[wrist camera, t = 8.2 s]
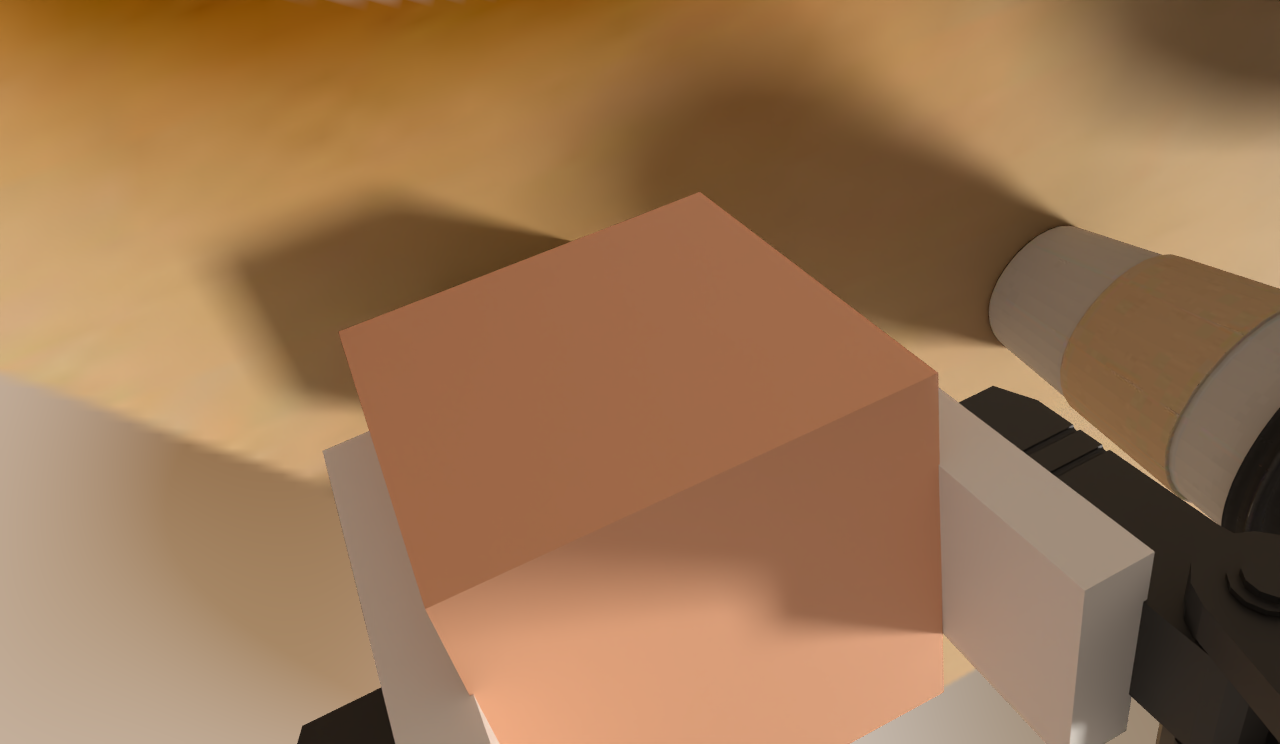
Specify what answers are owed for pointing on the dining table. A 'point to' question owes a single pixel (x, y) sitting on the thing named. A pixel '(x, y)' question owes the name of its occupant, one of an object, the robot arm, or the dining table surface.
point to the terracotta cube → (664, 490)
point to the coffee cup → (1157, 363)
